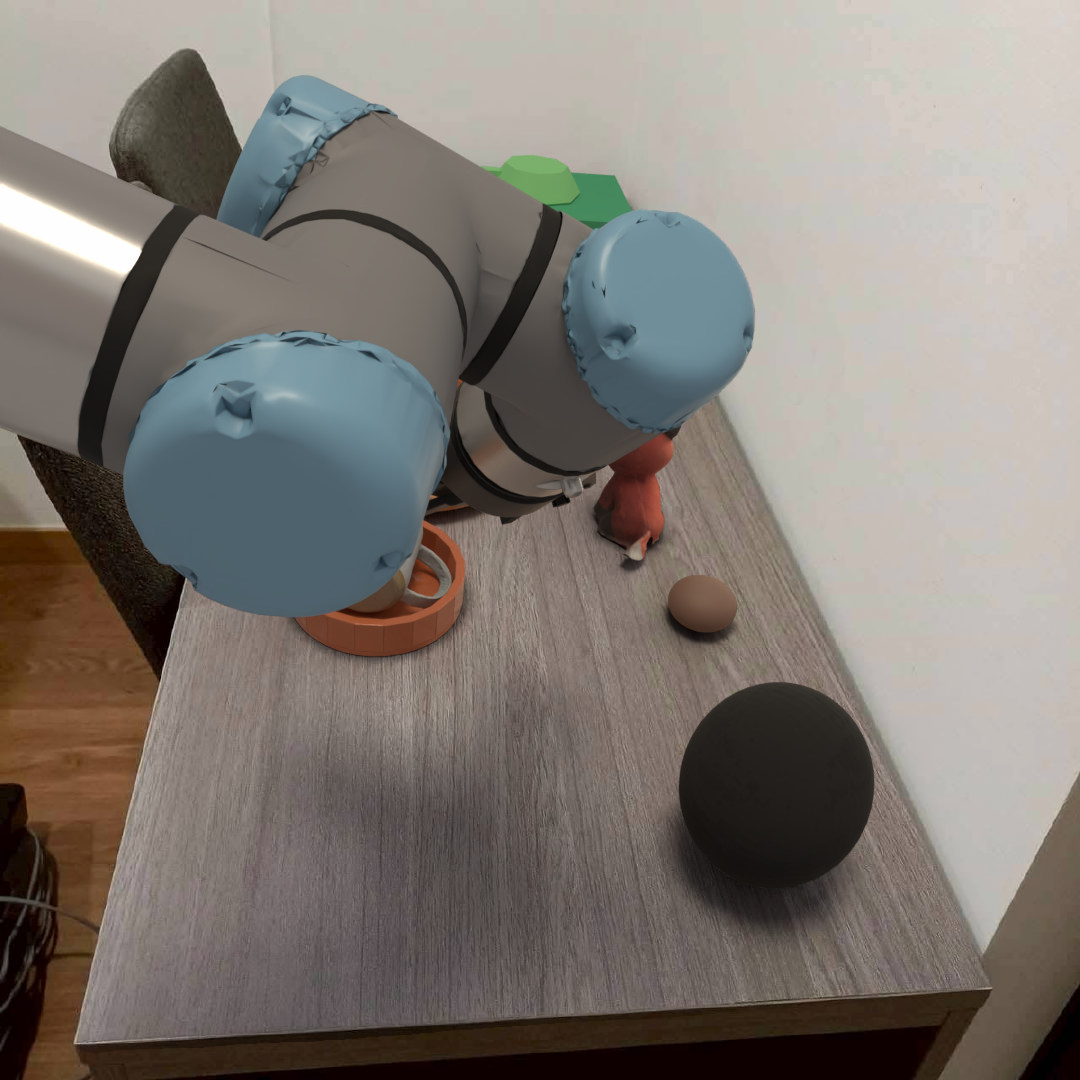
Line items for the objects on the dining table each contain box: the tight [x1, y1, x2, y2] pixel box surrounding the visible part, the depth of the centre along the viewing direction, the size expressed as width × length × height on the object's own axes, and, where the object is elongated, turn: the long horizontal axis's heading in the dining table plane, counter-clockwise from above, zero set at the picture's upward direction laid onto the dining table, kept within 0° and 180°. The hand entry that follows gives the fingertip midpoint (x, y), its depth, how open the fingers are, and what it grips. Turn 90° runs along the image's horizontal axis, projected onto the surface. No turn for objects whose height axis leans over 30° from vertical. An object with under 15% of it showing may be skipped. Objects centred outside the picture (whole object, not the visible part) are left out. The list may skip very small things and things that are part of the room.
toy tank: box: [479, 154, 633, 230], centre depth 144 cm, size 18×12×35 cm
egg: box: [667, 574, 738, 633], centre depth 91 cm, size 6×6×4 cm
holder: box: [294, 520, 466, 657], centre depth 89 cm, size 15×15×4 cm
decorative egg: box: [678, 681, 875, 890], centre depth 70 cm, size 12×12×15 cm
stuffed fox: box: [592, 424, 683, 562], centre depth 97 cm, size 8×11×12 cm
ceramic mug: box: [347, 525, 452, 613], centre depth 88 cm, size 11×8×8 cm
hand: (409, 524), depth 71 cm, fingers open, 13 cm apart
